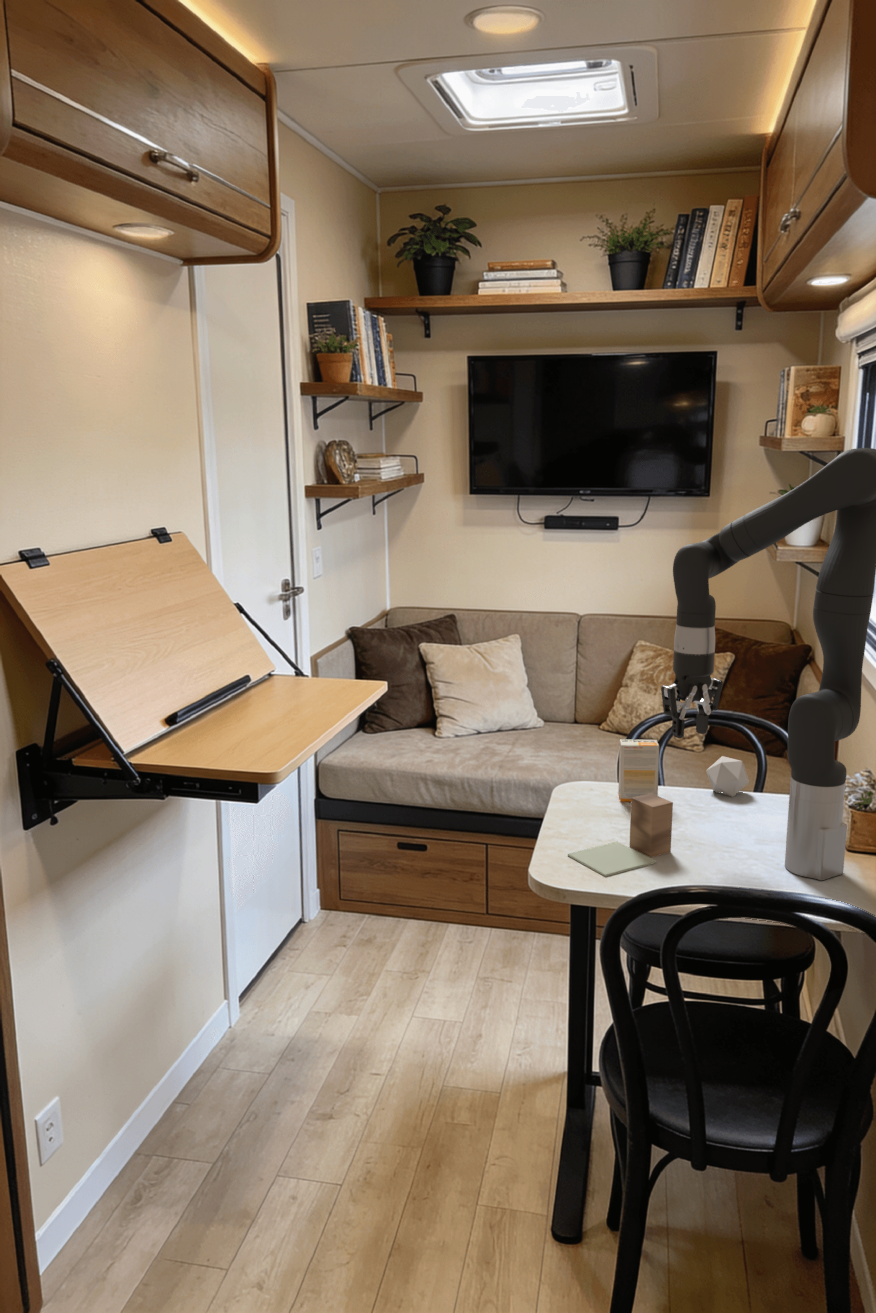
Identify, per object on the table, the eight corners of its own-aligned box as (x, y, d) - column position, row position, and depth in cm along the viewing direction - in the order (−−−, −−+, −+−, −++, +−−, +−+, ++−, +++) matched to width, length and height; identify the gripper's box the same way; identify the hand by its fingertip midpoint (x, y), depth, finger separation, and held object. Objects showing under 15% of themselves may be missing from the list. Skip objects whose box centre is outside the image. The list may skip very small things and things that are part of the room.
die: (755, 796, 222) (744, 755, 226) (747, 788, 215) (736, 746, 219) (718, 805, 225) (708, 765, 229) (710, 797, 218) (700, 755, 222)
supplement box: (655, 795, 221) (657, 739, 218) (657, 803, 216) (660, 745, 214) (617, 794, 222) (619, 738, 219) (619, 802, 217) (621, 744, 214)
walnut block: (670, 852, 190) (672, 802, 188) (650, 857, 187) (652, 807, 185) (649, 841, 195) (651, 793, 193) (629, 846, 192) (631, 797, 190)
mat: (655, 862, 185) (655, 860, 185) (605, 876, 179) (605, 874, 179) (617, 843, 194) (617, 841, 194) (567, 855, 188) (567, 853, 188)
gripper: (679, 656, 181) (675, 745, 185) (736, 648, 188) (731, 734, 192) (651, 649, 188) (648, 735, 191) (707, 641, 195) (703, 725, 198)
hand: (689, 734), depth 191 cm, fingers open, 5 cm apart
